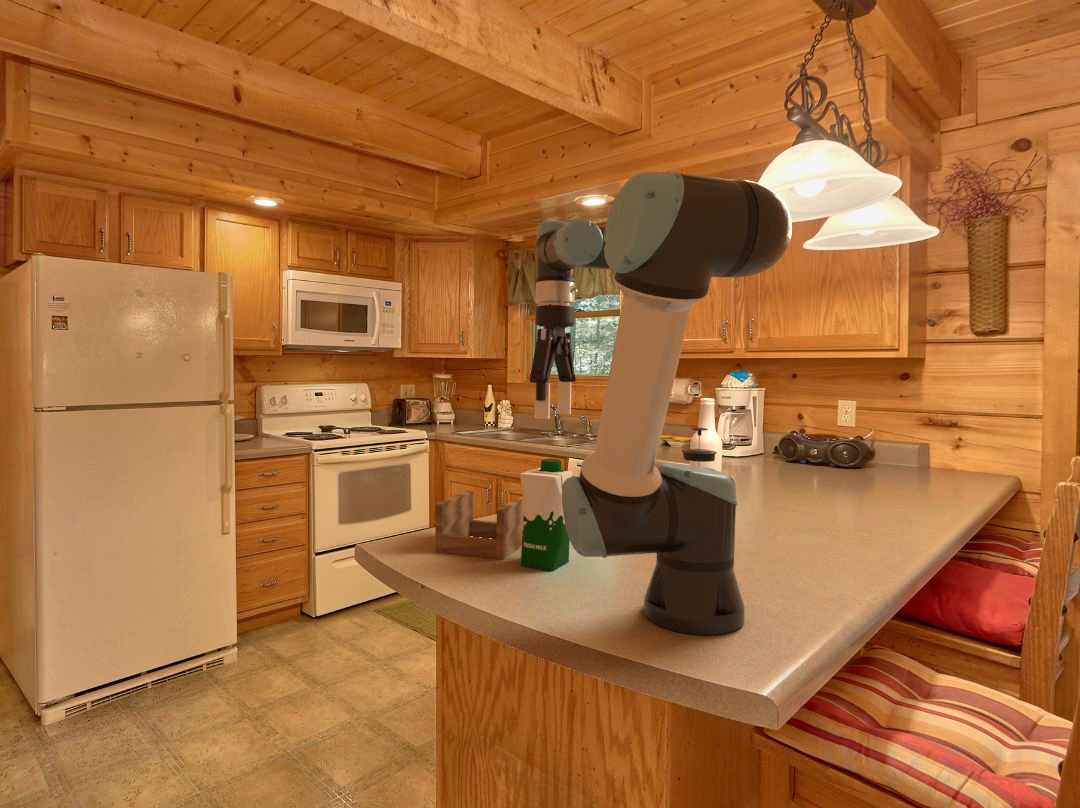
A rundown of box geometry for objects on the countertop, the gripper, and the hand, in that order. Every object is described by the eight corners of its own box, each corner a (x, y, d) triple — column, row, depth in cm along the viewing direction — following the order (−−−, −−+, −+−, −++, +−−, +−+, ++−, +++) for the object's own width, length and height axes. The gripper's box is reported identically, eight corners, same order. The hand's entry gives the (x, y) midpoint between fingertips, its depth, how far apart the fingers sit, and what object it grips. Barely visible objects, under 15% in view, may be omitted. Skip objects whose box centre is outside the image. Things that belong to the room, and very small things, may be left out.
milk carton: (575, 561, 130) (576, 460, 129) (554, 573, 122) (556, 466, 121) (535, 554, 134) (537, 457, 133) (513, 566, 126) (514, 462, 125)
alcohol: (715, 509, 180) (718, 399, 178) (684, 505, 185) (687, 398, 183) (724, 503, 187) (727, 398, 186) (694, 500, 192) (697, 397, 190)
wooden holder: (503, 559, 130) (503, 509, 129) (435, 551, 135) (435, 503, 134) (529, 541, 144) (529, 495, 144) (466, 534, 149) (467, 490, 148)
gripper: (553, 298, 113) (551, 421, 114) (591, 311, 137) (589, 413, 138) (513, 299, 116) (511, 419, 117) (556, 311, 139) (555, 411, 140)
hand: (553, 416), depth 127 cm, fingers open, 13 cm apart
